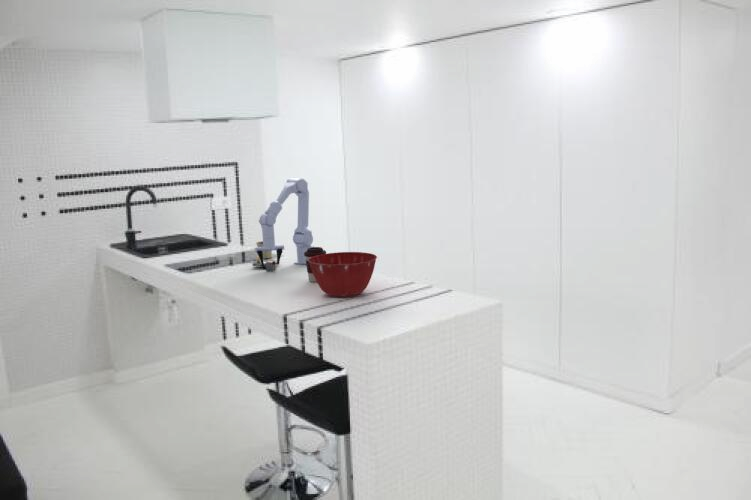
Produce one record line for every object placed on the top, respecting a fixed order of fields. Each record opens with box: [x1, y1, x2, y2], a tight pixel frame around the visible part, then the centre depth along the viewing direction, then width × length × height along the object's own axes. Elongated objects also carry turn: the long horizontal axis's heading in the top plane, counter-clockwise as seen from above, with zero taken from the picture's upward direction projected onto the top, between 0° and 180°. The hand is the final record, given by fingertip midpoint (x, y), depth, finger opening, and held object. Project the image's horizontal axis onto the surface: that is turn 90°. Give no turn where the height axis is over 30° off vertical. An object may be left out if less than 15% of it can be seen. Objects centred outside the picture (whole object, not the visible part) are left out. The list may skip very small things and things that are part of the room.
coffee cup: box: [304, 246, 327, 283], centre depth 304 cm, size 10×10×15 cm
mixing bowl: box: [308, 251, 378, 298], centre depth 277 cm, size 28×28×16 cm
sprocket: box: [251, 255, 278, 268], centre depth 342 cm, size 14×14×4 cm
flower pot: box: [255, 240, 273, 260], centre depth 366 cm, size 9×9×9 cm
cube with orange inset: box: [265, 261, 277, 272], centre depth 333 cm, size 4×4×4 cm
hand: (270, 264), depth 333 cm, fingers open, 7 cm apart
